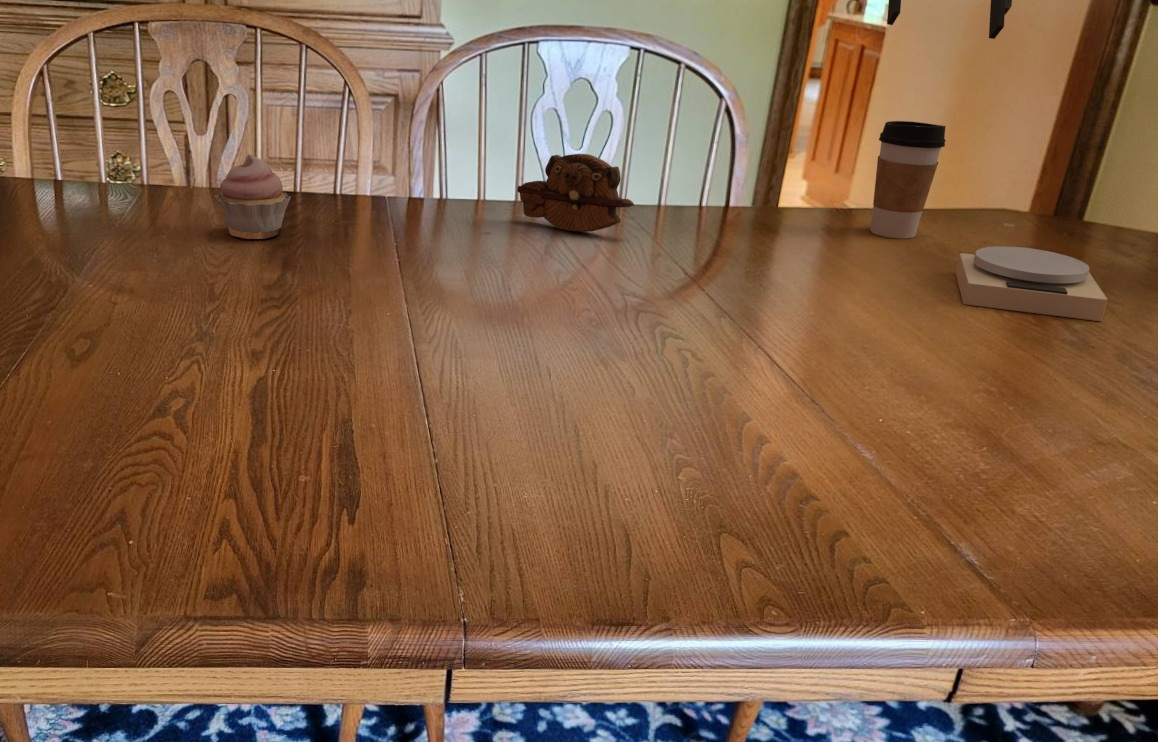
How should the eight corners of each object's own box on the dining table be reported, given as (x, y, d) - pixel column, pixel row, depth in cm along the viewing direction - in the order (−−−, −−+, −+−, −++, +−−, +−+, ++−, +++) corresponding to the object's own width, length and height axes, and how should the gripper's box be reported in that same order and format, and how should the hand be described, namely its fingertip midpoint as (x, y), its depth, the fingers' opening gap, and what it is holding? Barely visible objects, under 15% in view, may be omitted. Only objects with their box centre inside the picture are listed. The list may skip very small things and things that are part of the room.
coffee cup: (883, 241, 148) (906, 127, 142) (848, 226, 155) (869, 117, 149) (937, 240, 150) (963, 127, 144) (901, 225, 157) (924, 117, 151)
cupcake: (203, 230, 139) (198, 150, 135) (269, 222, 145) (267, 144, 140) (237, 247, 133) (233, 163, 128) (305, 238, 138) (303, 157, 134)
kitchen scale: (1080, 287, 131) (1089, 254, 130) (1101, 321, 119) (1112, 286, 118) (954, 272, 135) (962, 240, 134) (963, 304, 123) (971, 269, 122)
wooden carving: (508, 224, 149) (513, 149, 144) (523, 218, 152) (528, 144, 148) (622, 244, 141) (630, 165, 137) (635, 237, 145) (643, 160, 141)
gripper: (1031, -79, 154) (1025, 54, 149) (853, -102, 155) (841, 29, 150) (1059, -118, 147) (1054, 21, 142) (872, -142, 148) (860, -5, 143)
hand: (944, 25), depth 146 cm, fingers open, 13 cm apart
